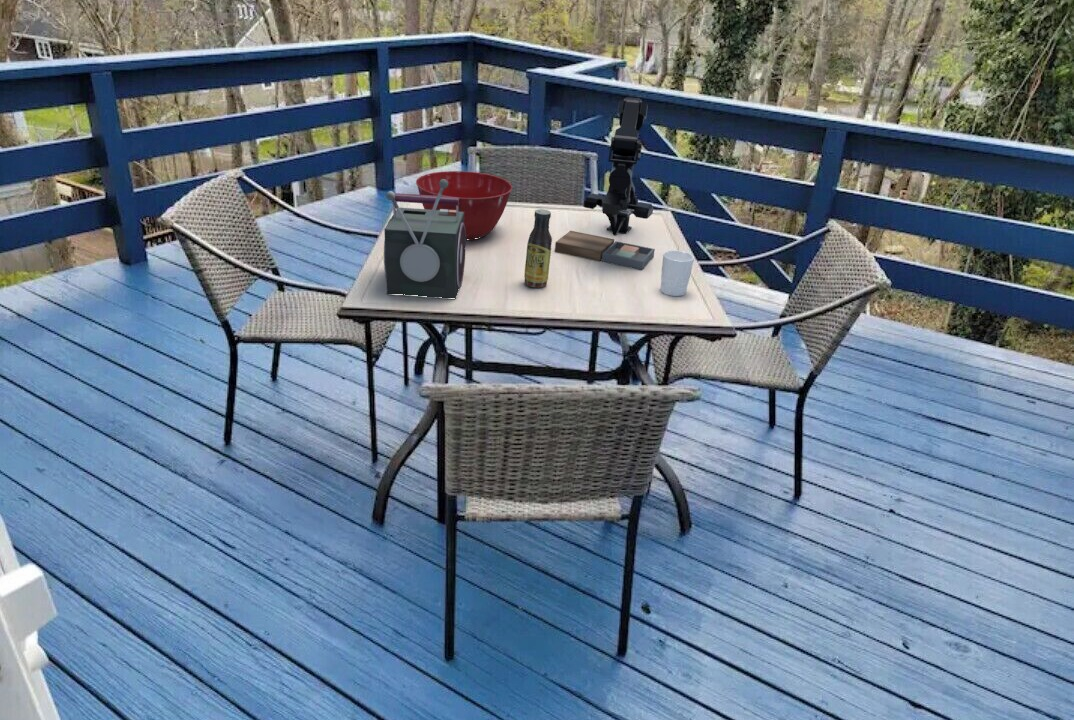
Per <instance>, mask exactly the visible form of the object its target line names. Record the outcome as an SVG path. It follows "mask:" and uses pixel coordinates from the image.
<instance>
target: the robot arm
mask: <svg viewBox="0 0 1074 720" xmlns="http://www.w3.org/2000/svg"><path fill="white" fill-rule="evenodd" d="M648 105H649V104H648V103H647V102H644V101H643V100H642V99H640V98H638V97H637V98H636V97H626V98H625V97H624V98H623V99H621V100H619V101H618V108H617V114H616V115H617V117H619V121H618V122H619V123H618V124H619V126H620V127H618V128H616V129H615V132H614V136H611V141H610V147H609V155H608V159H607V160H608V162H610V163H612V165H611V170H610V174H609V177H608V183H609V185H608V188H607V189H608V190H607V192H606V194H605V196H604V195H602V194H597V193H590V194H588V195H587V196H586V197H584V199H583V208H586V209H591V210H593V209H595V208H596V207H598V206H600V207H601V210H602V214H605V215H606V217H607V219H608V221H609V226H608V227H607V228H606V231H611V232H612V236H615V237H616V236H617V235H618V233H620V234H627V233H628V232H630V230H631V229H632V228H633V227H632V226H629V225H630V224H629V223H630V217H631V215H634V217H635V218H639V219H649V218H650V217H651V216H652V215H653V214H654V206H653V204H652V203H647V202H642V201H639V199H638V197H637V194H635V192H636V187H635V185H634V182H633V174H634V165H637V164H638V161H641V154H642V147H643V146H642V145H643V143H641V142H642V141H641V139H639V131H640V130H641V128H642V127H643V125H644V120H647V114H648Z"/></svg>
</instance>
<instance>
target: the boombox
mask: <svg viewBox="0 0 1074 720" xmlns="http://www.w3.org/2000/svg"><path fill="white" fill-rule="evenodd" d="M439 185H440V187H441V188H440V190H439V193H438V196H430V195H420V194H413V193H401V192H400V193H397V192H396V193H395V192H394V191H393V190H390V191H388V192H386V194H385V197H386V199H387V200H389V201H391V202H392V212H393V215H392V217H391V218H390V219H389V220H388V222H387V224H386V226H385V227H384V229H383V230H384V241H383V243H384V244H383V269H384V275H385V276H384V277H385V279H386V280H385V281H386V295H387V294H403V295H404V294H405V295H418V296H427V297H442V298H455V299H456V300H457V297H456V296H458V294H459V290H458V289H460V287H461V286H462V284H463V280H464V273H465V266H466V265H465V264H466V263H465V262H466V242H467V240H466V234H465V225H464V212H458V207H459V197H445V196H441V195H442V192H443V189H444V188H446V187H447V186H448V181H447V180H445V179H442V180H441V181H440V183H439ZM397 202H399V203H412V204H413V203H414V204H422V203H425V204H434V206H433V209H432V210H429V209H424V208H413V207H410V208H409V207H399V205H398V203H397ZM438 204H440V205H455V206H456V210H447V209H440V210H436V208H437V205H438ZM457 293H458V294H457ZM455 299H454V300H455Z"/></svg>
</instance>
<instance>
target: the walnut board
mask: <svg viewBox="0 0 1074 720" xmlns="http://www.w3.org/2000/svg"><path fill="white" fill-rule="evenodd" d="M614 242H615V239H614V238H611V237H610V238H609V237H605V236H600V235H594V234H590V233H585V232H580V231H574V230H569V231H568V232H566V233H565V234H564V235H563V236H561V237H560V238H559V239H558V240H557V241H555V246H554V252H555V253H557V254H558V253H559V254H563V255H568V256H572V257H576V258H577V257H578V258H582V259H586V260H587V259H588V260H592V261H596V262H602V254H603V253H604V252H605V251H606V250H607V249H608V248H609V247H610V246H611V245H612V244H613V243H614Z"/></svg>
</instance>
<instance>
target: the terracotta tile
mask: <svg viewBox="0 0 1074 720" xmlns="http://www.w3.org/2000/svg"><path fill="white" fill-rule="evenodd" d="M620 250H624V251H629V252H633V253H636V255H635V257H636V256H637V255H638V253H639V248H638V247H633V246H628V245H624V246H623V247H622V248H621V249H620Z"/></svg>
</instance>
